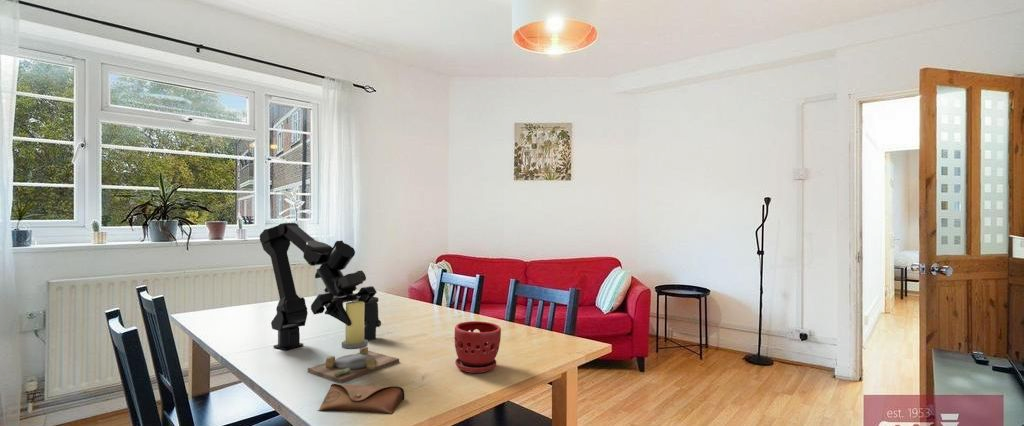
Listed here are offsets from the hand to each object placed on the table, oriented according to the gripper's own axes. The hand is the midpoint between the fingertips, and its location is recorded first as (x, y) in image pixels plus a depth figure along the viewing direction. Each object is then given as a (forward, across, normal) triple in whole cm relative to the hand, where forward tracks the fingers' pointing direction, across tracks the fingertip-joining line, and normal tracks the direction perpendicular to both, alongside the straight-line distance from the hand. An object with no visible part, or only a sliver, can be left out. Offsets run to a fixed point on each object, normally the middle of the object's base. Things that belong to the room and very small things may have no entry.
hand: (358, 323), depth 130 cm
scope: (-7, +21, +25) cm, 33 cm away
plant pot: (+28, +20, -10) cm, 36 cm away
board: (+8, 0, +10) cm, 13 cm away
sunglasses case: (+24, -15, -5) cm, 29 cm away
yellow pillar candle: (+4, 0, +6) cm, 7 cm away
